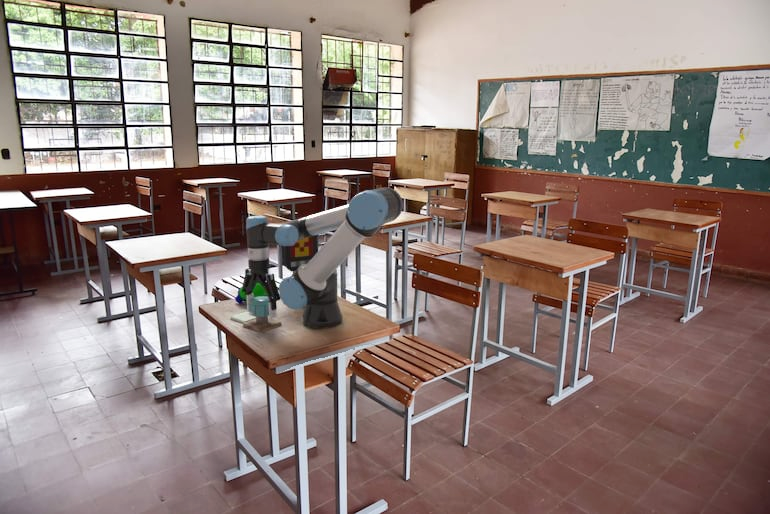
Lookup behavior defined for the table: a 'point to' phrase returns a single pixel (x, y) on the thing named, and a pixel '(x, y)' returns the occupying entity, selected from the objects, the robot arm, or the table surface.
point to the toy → (257, 292)
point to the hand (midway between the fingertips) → (261, 314)
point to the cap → (259, 306)
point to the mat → (242, 317)
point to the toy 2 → (299, 253)
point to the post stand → (261, 324)
